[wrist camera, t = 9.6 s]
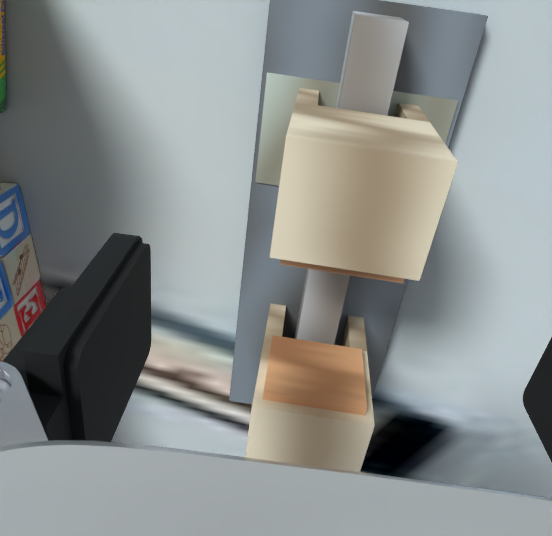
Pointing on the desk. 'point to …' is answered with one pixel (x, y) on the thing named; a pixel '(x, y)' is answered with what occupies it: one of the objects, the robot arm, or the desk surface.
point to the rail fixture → (320, 284)
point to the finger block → (360, 191)
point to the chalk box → (2, 59)
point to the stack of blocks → (16, 271)
